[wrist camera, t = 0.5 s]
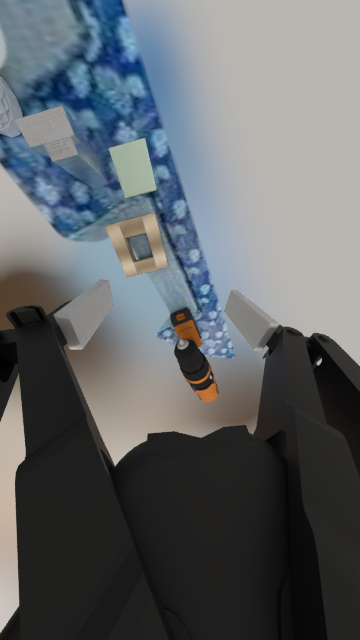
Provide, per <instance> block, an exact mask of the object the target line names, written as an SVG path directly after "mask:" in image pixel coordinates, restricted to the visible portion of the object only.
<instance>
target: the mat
mask: <svg viewBox="0 0 360 640" xmlns="http://www.w3.org/2000/svg"><path fill="white" fill-rule="evenodd" d="M109 151H110V154H111V157H112V160H113V163H114V166H115V169H116V172H117V175H118V178H119V181H120V184H121V187H122V190H123V193H124V196H125V198H126V199H127V198H131V197H134V196H138V195H142V194H145V193H149V192H153V191H156V190H157V189H156V185H155V180H154V176H153V171H152V167H151V163H150V158H149V154H148V149H147V145H146V141H145V138H143V139H139V140H136V141H132V142H129V143H125V144H122V145H118V146H115V147H111V148H109Z"/></svg>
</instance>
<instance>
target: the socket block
mask: <svg viewBox="0 0 360 640" xmlns="http://www.w3.org/2000/svg"><path fill="white" fill-rule="evenodd" d="M105 228H106V230H107V233H108V235H109V237H110V239H111V242H112V244H113V246H114V248H115V251H116V253H117V255H118V258H119V260H120V262H121V265H122V267H123V269H124V271H125V274H126V276H127V277H130V276H134V275H138V274H142V273H146V272H150V271H154V270H158V269H162V268H166V267H168V262H167V258H166V254H165V250H164V246H163V242H162V238H161V234H160V230H159V226H158V222H157V218H156V214H155V213H152V214H148V215H144V216H140V217H137V218H133V219H129V220H125V221H122V222H118V223H114V224H110V225H106V226H105ZM146 233H147V237H148V240H149V243H150V247H151V250H152V253H153V256H151V257H147V258H143V259H139V260H136V258H135V256H134V253H133V250H132V247H131V245H130V242H129V239H128V238H130V237H134V236H138V235H142V234H146Z"/></svg>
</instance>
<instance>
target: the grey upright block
mask: <svg viewBox="0 0 360 640" xmlns="http://www.w3.org/2000/svg"><path fill="white" fill-rule="evenodd" d="M15 122H16V123H17V125H18V127H19V129H20V131H21V133H22V134H23V136H24V138H25V140H26V142H27V143H28V145H29V147H30V148H31V149H33V150H34V151H36V152H37V153H39V154H40V155H41V154H45V153H48V154H49V156H50V158H51V160H52V162H54V163H55V164H57V165H58V166H60V167H61V168H63V169H64V170H66V171H67V172H69V173H70V174H72V175H73V176H75V177H76V178H78V179H79V180H81V181H82V182H84V183H85V184H87V185H88V186H90V187H91V188H93V189H96V188H99V187H103V186H106V185H110V183H109V180H108V177H107V175H106V172H105V169H104V166H103V164H102V161H101V158H100V157H99V156H98V155H97V154H96V152H95V151H94V150H93V149H92V148H91V146H90V145H89V144H88V143H87V142H86V140H85V139H84V138H83V137H82V136H81V134H80V133H79V132H78V131H77V130H76V128H75V125H74V123H73V120H72V118H71V116H70V115H69V113H68V112H67V111H66V110H65V108H64V107H63V106H59V107H56V108H52V109H49V110H46V111H42V112H39V113H36V114H32V115H29V116H26V117H22V118H19V119H16V120H15Z"/></svg>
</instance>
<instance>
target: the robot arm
mask: <svg viewBox="0 0 360 640" xmlns="http://www.w3.org/2000/svg"><path fill="white" fill-rule="evenodd" d="M112 306H113V301H112V295H111V290H110V284H109V280H99V281H98V282H97V283H95V284H94V285H93V286H91V287H90V288H89V289H87V290H86V291H85V292H83V293H82V294H81V295H79V296H78V297H77V298H75V299H74V300H73V301H69V302H66V303H64V304H63V305H61V306H60V307H58V308H57V309H56V310H54V311H53V312H51V313H50V314H48V315H47V316H46V314H45V312H44V310H43V308H42V307H41V306H36V305H35V306H34V305H33V306H32V305H31V306H23V307H19V308H16V309H13V310H11V311H9V312H7V314H6V316H7V318H8V319H9V320H10V322H11V323H12V324H13V326H14V327H15V329H10V330H2V331H0V421H1V418H2V416H3V413H4V410H5V408H6V405H7V402H8V400H9V397H10V395H11V392H12V389H13V387H14V384H15V381H16V378H17V376H18V373H19V377H20V388H21V401H22V411H23V423H24V434H25V446H26V457H25V460H24V461H23V462H22V463H21V464H20V465H19V466H18V468H17V471H16V478H15V497H16V522H17V548H18V549H17V550H18V576H19V577H18V578H19V607H18V608H17V610H16V611H15V613H14V614H13V616H12V617H11V618H10V620H9V621H8V623H7V624H6V626H5V627H4V629H3V630H2V632H1V633H0V640H360V366H359V365H358V364H357V363H356V362H355V361H354V360H353V359H352V358H351V357H350V356H349V355H348V354H347V353H346V352H345V351H344V350H343V349H342V348H341V347H340V346H339V345H338V344H337V343H336V342H335V341H334V340H332V339H331V338H329V337H328V336H326V335H324V334H319V333H313V334H312V336H311V337H310V338H309V337H304V336H303V334H302V333H301V332H299V331H298V330H296V329H294V328H291V327H282V326H281V325H280V324H279V323H278V322H276V321H275V320H274V319H273V318H271V317H270V316H269V315H268V314H266V313H265V312H264V311H263V310H261V309H260V308H259V307H258V306H256V305H255V304H254V303H252V302H251V301H250V300H249V299H247V298H246V297H245V296H244V295H242V294H241V293H240V292H239V291H235V290H231V293H230V296H229V299H228V301H227V304H226V307H225V310H224V311H225V313H226V314H227V315H228V317H229V318H230V319H231V320H232V322H233V323H234V325H235V326H236V327H237V329H238V330H239V331H240V332H241V334H242V335H243V336H244V338H245V339H246V340H247V342H248V343H249V344H250V345H251V347H252V348H253V349H254V350H256V351H257V350H258V351H261V350H263V349H264V347H265V346H266V345H267V346H268V348H269V349H268V351H267V352H266V353H265V355H264V356H263V359H264V358H265V357H266V361H265V368H264V375H263V383H262V390H261V398H260V405H259V413H258V421H257V427H256V430H255V432H254V434H250V433H249V432H248V429H247V427H246V425H241V426H230V427H223V428H221V429H219V430H217V431H215V432H213V433H211V434H209V435H207V436H205V437H202V438H198V437H195V436H190V435H186V434H182V433H178V432H174V431H173V432H162V433H151V434H148V436H147V441H145V442H143V443H141V444H139V445H138V446H136V447H134V448H133V449H132V450H131V451H129V452H128V453H127V454H126V455H125V456H124V457H123V458H122V459H121V460H120V461H119V462H118V464H117V465H116V466H114V463H113V461H112V459H111V456H110V454H109V452H108V450H107V448H106V446H105V444H104V442H103V439H102V437H101V435H100V433H99V430H98V428H97V425H96V423H95V421H94V418H93V416H92V414H91V411H90V409H89V407H88V404H87V402H86V400H85V397H84V395H83V393H82V390H81V388H80V386H79V383H78V381H77V378H76V376H75V374H74V371H73V369H72V367H71V364H70V362H69V360H68V357H67V355H66V353H65V350H64V349H63V347H64V346H65V345H66V344H68V346H69V348H70V349H81V350H82V349H83V348H84V346H85V345H86V344H87V342H88V341H89V339H90V338H91V336H92V335H93V334H94V332H95V331H96V329H97V328H98V326H99V325H100V324H101V322H102V321H103V319H104V318H105V316H106V315H107V313H108V312H109V311H110V309H111V308H112ZM321 358H322V362H321V364H320V365H319V366H318V365H317V364H316V363H317V362H318V361H319V360H320V359H321Z"/></svg>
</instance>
